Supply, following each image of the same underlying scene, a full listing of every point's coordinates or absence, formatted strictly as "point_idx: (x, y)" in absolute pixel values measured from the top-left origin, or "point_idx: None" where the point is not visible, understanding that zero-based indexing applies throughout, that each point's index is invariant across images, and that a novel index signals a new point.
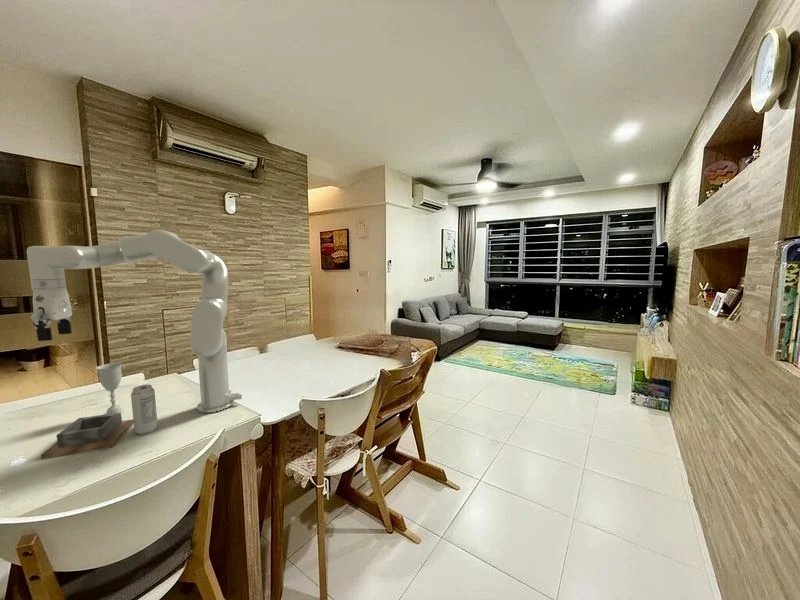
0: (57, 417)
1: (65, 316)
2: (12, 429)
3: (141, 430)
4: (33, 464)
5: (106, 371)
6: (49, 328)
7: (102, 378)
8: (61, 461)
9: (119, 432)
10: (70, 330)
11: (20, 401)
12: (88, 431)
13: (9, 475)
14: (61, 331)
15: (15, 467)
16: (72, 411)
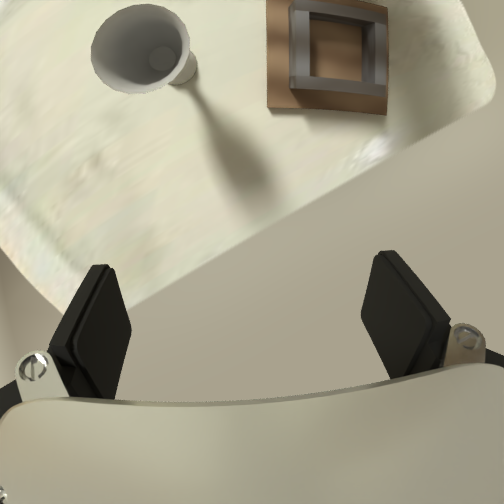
0: (165, 197)
1: (234, 427)
2: (210, 251)
3: None
4: (397, 118)
5: (183, 40)
6: (447, 316)
7: (186, 60)
8: (405, 76)
9: (339, 1)
10: (98, 278)
11: None
12: (385, 41)
13: (417, 138)
14: (121, 330)
15: (396, 142)
16: (134, 184)
